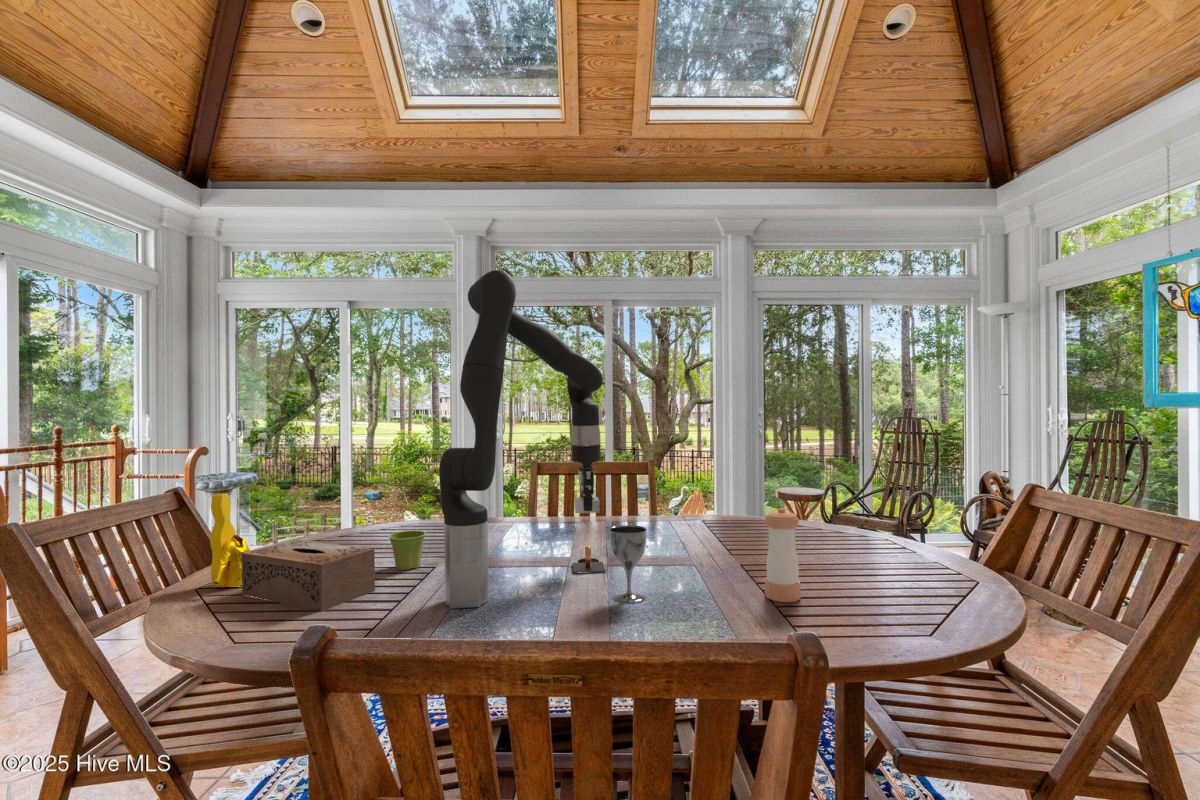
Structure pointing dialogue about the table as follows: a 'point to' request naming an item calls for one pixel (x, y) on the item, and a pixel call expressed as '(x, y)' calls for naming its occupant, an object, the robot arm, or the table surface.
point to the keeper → (588, 564)
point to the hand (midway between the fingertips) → (587, 508)
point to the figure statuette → (225, 545)
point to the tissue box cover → (308, 573)
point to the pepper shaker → (782, 557)
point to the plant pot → (407, 548)
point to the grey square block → (580, 507)
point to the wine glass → (628, 556)
